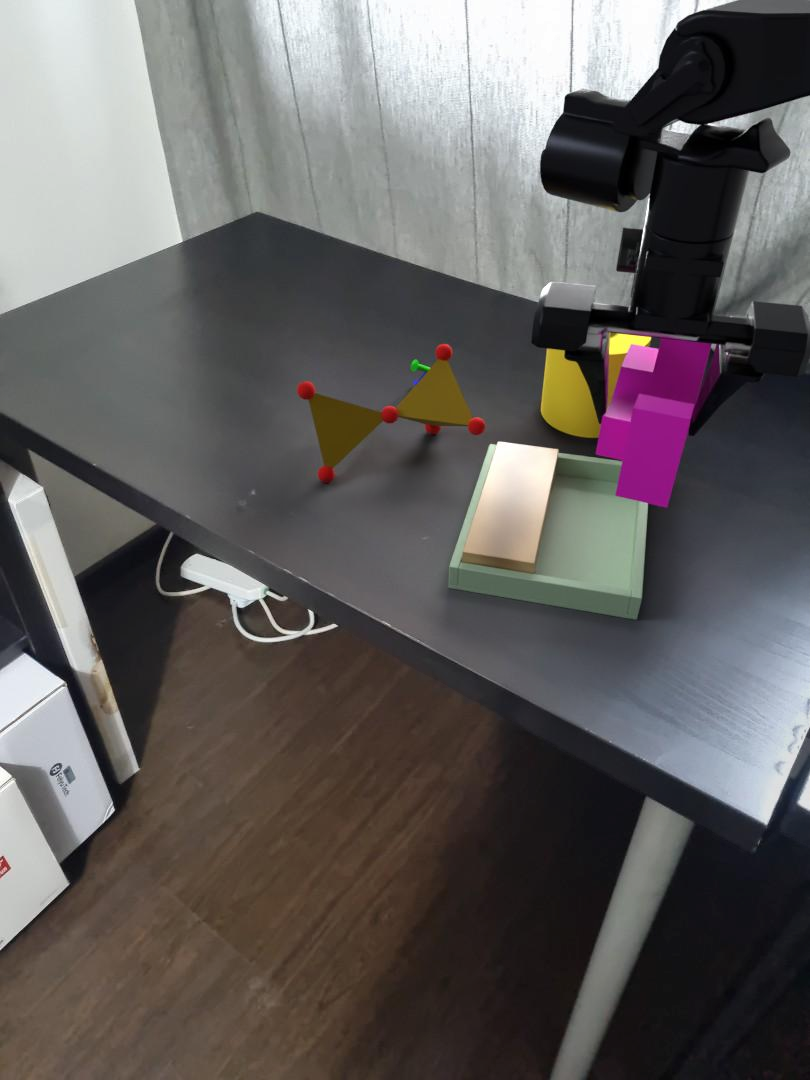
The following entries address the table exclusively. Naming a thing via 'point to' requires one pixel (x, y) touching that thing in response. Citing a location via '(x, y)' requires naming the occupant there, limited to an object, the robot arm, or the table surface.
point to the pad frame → (572, 545)
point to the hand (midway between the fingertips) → (646, 427)
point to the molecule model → (389, 412)
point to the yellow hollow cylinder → (580, 388)
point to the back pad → (512, 508)
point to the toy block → (652, 416)
